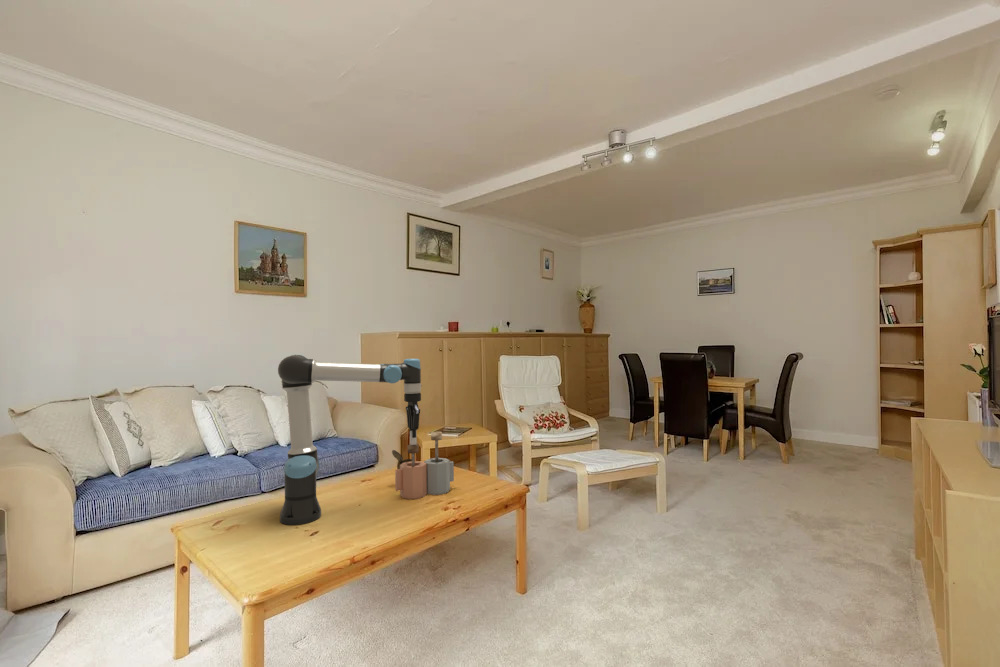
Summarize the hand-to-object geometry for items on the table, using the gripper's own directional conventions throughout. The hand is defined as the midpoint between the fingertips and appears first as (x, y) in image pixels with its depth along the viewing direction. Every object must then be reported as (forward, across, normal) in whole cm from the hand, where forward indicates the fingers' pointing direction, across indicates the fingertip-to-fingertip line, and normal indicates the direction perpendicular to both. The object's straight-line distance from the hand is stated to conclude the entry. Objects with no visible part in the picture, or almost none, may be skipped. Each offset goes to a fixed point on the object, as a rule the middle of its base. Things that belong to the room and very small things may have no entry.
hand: (413, 444), depth 217 cm
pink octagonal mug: (+23, 0, +2) cm, 23 cm away
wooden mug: (+23, +19, -2) cm, 30 cm away
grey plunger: (+12, 0, -11) cm, 17 cm away
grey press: (+23, 0, -13) cm, 26 cm away
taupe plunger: (+17, 0, 0) cm, 17 cm away
